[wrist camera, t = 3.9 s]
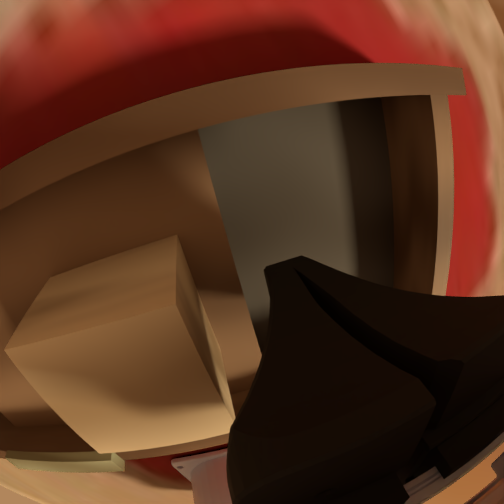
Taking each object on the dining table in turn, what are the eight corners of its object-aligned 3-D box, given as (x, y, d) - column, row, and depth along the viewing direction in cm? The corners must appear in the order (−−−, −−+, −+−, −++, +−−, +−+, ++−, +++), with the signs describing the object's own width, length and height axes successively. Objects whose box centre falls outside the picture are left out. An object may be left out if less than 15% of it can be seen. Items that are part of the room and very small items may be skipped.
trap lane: (402, 307, 17) (453, 358, 12) (-29, 411, 13) (-46, 456, 9) (388, 72, 11) (473, 65, 6) (-117, 275, 8) (-152, 311, 3)
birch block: (220, 348, 12) (238, 430, 8) (110, 375, 11) (99, 453, 8) (177, 234, 9) (175, 304, 6) (49, 277, 9) (3, 350, 5)
